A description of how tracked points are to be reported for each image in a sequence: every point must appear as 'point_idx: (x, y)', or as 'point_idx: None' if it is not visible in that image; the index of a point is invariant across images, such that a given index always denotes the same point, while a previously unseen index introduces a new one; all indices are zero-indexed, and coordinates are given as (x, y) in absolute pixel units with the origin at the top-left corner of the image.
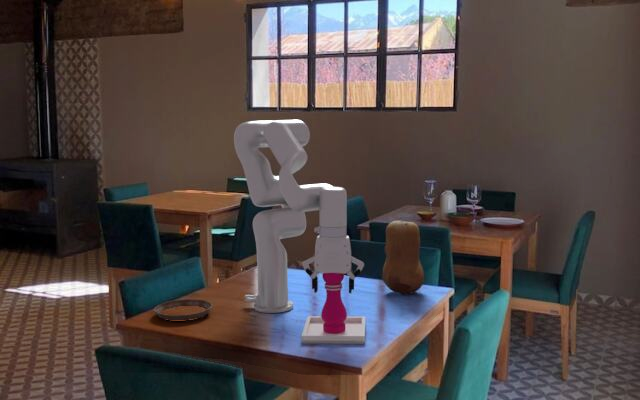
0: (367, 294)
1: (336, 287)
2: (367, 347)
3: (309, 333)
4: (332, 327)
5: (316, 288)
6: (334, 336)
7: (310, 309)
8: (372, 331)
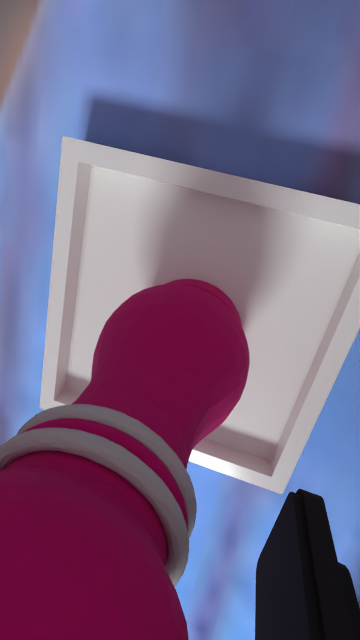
0: None
1: (58, 428)
2: (77, 92)
3: (319, 317)
4: (202, 290)
5: (301, 528)
6: (216, 172)
7: (230, 595)
8: (39, 303)
